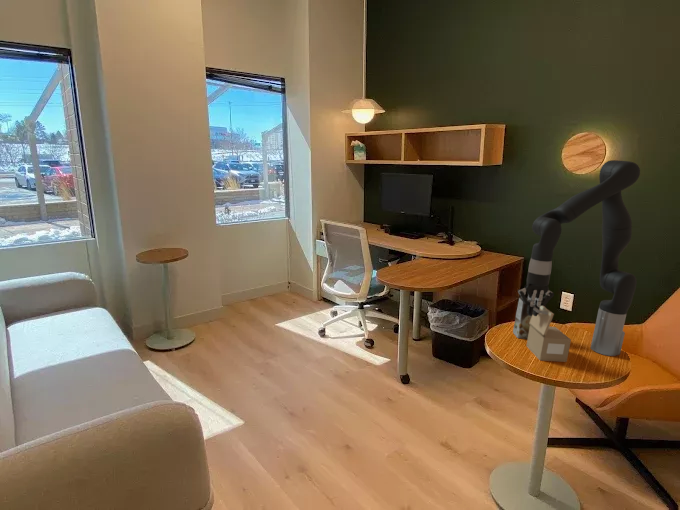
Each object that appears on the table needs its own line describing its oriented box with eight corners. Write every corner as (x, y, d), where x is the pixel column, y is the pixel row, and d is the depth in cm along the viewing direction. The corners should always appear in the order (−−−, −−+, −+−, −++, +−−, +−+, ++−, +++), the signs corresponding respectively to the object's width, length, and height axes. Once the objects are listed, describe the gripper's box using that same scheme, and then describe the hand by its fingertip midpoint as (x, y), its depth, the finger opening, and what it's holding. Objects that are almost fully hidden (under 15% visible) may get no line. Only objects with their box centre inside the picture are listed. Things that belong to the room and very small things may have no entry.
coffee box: (517, 338, 174) (523, 302, 170) (512, 332, 180) (518, 297, 176) (539, 340, 173) (546, 304, 169) (534, 334, 179) (540, 299, 175)
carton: (551, 347, 167) (555, 326, 165) (566, 362, 155) (571, 339, 153) (526, 346, 167) (530, 325, 165) (539, 360, 155) (544, 338, 153)
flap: (539, 302, 162) (526, 299, 162) (554, 314, 151) (540, 310, 151) (531, 324, 165) (518, 321, 164) (545, 337, 153) (531, 334, 153)
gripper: (552, 269, 157) (545, 312, 161) (516, 267, 157) (510, 310, 161) (562, 275, 150) (554, 320, 154) (525, 273, 150) (518, 318, 154)
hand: (532, 315), depth 157 cm, fingers closed
